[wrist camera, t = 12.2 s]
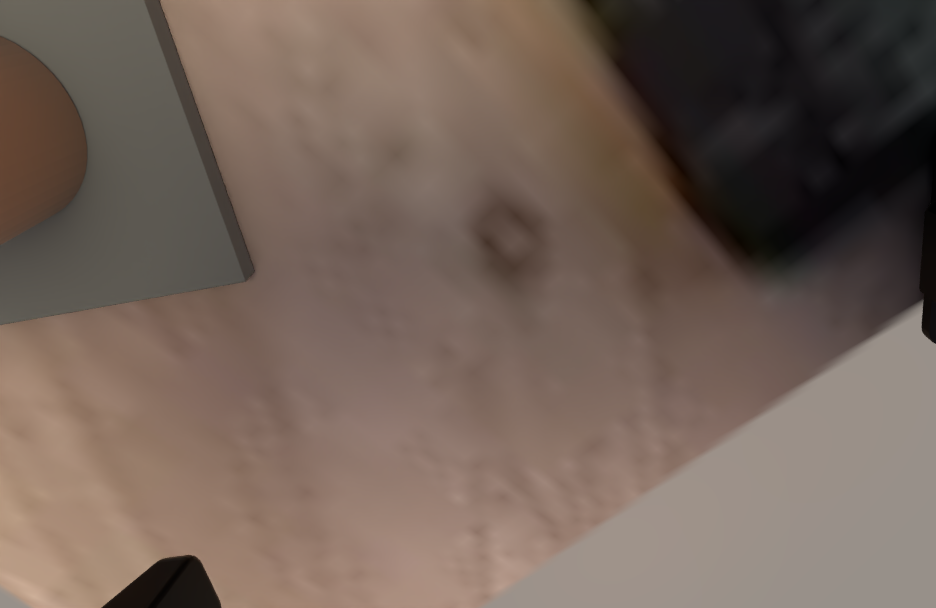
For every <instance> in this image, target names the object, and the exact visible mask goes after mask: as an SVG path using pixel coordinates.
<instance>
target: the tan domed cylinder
mask: <svg viewBox="0 0 936 608" xmlns="http://www.w3.org/2000/svg"><path fill="white" fill-rule="evenodd" d="M86 165H87V144H86V138H85V133H84V129H83V126H82V122H81V119H80V117H79V115H78V112H77V110H76V108H75V106H74V104H73V102H72V100H71V98H70V96H69V95H68V93H67V92H66V91H65V89H64V88H63V86H62V85H61V83H60V82H59V81H58V80H57V79H56V77H55V76H54V75H53V74H52V73H51V72H50V71H49V70H48V69H47V68H46V67H45V66H44V65H43V64H42V63H41V62H40V61H39V60H38V59H37V58H35V57H34V56H33V55H31V54H30V53H29V52H28V51H26V50H25V49H23V48H21V47H20V46H18V45H17V44H15V43H13V42H11V41H9V40H7V39H5V38H3V37H1V36H0V245H2V244H3V243H5V242H7V241H9V240H10V239H12V238H14V237H16V236H17V235H19V234H21V233H23V232H24V231H26V230H28V229H30V228H31V227H33V226H35V225H37V224H39V223H40V222H42V221H44V220H46V219H47V218H49V217H51V216H53V215H54V214H56V213H58V212H59V211H60V210H62V209H63V208H65V207H66V206H67V205H68V204H69V203H70V202H71V201H72V200H73V198H74V197H75V195H76V194H77V192H78V191H79V189H80V186H81V184H82V182H83V179H84V175H85V172H86Z"/></svg>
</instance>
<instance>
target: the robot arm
mask: <svg viewBox="0 0 936 608" xmlns="http://www.w3.org/2000/svg"><path fill="white" fill-rule="evenodd" d="M920 291H921V292H922V293H923V294H924V302H923V315H922V332H923V333H924V335H925V336H926V337H927V338H929V339H930V340H931V341H932V342H934V343H935V344H936V145H935V158H934V172H933V185H932V198H931V204H930V205H929V206H928V208H927V209H926V211H925V219H924V233H923V246H922V260H921V274H920ZM102 608H221V603H220V600H219V598H218V596H217V594H216V592H215V590H214V588H213V586H212V584H211V581H210V579H209V577H208V575H207V573H206V571H205V569H204V567H203V565H202V563H201V561H200V560H199V559H198V558H197V557H195V556H192V555H184V556H177V557H169V558H164V559H161V560H159V561H158V562H156V563H155V564H154V565H153V566H151V567H150V568H149V569H148V570H147V571H145V572H144V573H143V574H142V575H141V576H139V577H138V578H137V579H136V580H134V581H133V582H132V583H131V584H130V585H128V586H127V587H126V588H125V589H124V590H122V591H121V592H120V593H119V594H118V595H116V596H115V597H114V598H113V599H111V600H110V601H109V602H108V603H107V604H105V605H104V606H103V607H102Z"/></svg>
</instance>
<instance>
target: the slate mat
mask: <svg viewBox="0 0 936 608" xmlns="http://www.w3.org/2000/svg"><path fill="white" fill-rule="evenodd" d="M0 36H1V37H3V38H5V39H7V40H9V41H11V42H13V43H15V44H17V45H18V46H20V47H21V48H23V49H25V50H26V51H28V52H29V53H30V54H31V55H33V56H34V57H35V58H37V59H38V60H39V61H40V62H41V63H42V64H43V65H44V66H45V67H46V68H47V69H48V70H49V71H50V72H51V73H52V74H53V75H54V76H55V77H56V79H57V80H58V81H59V82H60V83H61V85H62V86H63V88H64V89H65V91H66V92H67V93H68V95H69V96H70V98H71V100H72V102H73V104H74V106H75V108H76V110H77V112H78V115H79V117H80V119H81V122H82V126H83V129H84V133H85V138H86V144H87V165H86V172H85V175H84V179H83V182H82V184H81V186H80V189H79V191H78V192H77V194H76V195H75V197H74V198H73V200H72V201H71V202H70V203H69V204H68V205H67V206H66V207H65V208H63V209H62V210H60V211H59V212H58V213H56V214H54V215H53V216H51V217H49V218H47V219H46V220H44V221H42V222H40V223H39V224H37V225H35V226H33V227H31V228H30V229H28V230H26V231H24V232H23V233H21V234H19V235H17V236H16V237H14V238H12V239H10V240H9V241H7V242H5V243H3V244H2V245H0V325H3V324H8V323H14V322H20V321H25V320H31V319H37V318H42V317H48V316H54V315H59V314H65V313H71V312H76V311H82V310H88V309H93V308H99V307H105V306H110V305H116V304H122V303H128V302H133V301H139V300H145V299H150V298H156V297H162V296H167V295H173V294H179V293H184V292H190V291H196V290H201V289H207V288H213V287H218V286H224V285H230V284H235V283H241V282H246V281H247V280H248V278H249V277H250V276H251V275H252V274H253V273H254V268H253V265H252V263H251V260H250V257H249V254H248V251H247V249H246V246H245V243H244V240H243V237H242V234H241V232H240V229H239V226H238V223H237V220H236V217H235V215H234V212H233V209H232V206H231V203H230V200H229V198H228V195H227V192H226V189H225V186H224V183H223V181H222V178H221V175H220V172H219V169H218V167H217V164H216V161H215V158H214V155H213V152H212V150H211V147H210V144H209V141H208V138H207V135H206V133H205V130H204V127H203V124H202V121H201V118H200V116H199V113H198V110H197V107H196V104H195V101H194V99H193V96H192V93H191V90H190V87H189V84H188V82H187V79H186V76H185V73H184V70H183V68H182V65H181V62H180V59H179V56H178V53H177V51H176V48H175V45H174V42H173V39H172V36H171V34H170V31H169V28H168V25H167V22H166V19H165V17H164V14H163V11H162V8H161V5H160V2H159V0H0Z"/></svg>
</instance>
